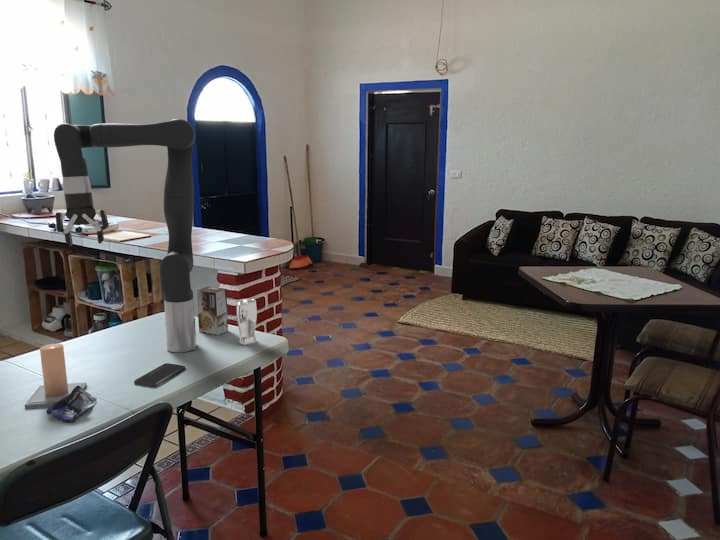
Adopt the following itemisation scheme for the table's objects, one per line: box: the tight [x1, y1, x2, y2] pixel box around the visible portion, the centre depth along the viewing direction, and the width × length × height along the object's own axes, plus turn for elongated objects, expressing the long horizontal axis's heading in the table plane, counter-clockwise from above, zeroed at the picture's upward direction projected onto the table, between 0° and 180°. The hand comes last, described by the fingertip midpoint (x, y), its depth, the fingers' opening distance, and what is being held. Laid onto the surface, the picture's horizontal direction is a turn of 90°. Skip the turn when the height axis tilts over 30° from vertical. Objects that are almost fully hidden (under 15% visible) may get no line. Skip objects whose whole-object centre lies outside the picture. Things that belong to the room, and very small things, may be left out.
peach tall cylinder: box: [39, 343, 68, 397], centre depth 148 cm, size 6×6×13 cm
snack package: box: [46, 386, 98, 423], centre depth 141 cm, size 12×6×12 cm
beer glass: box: [235, 298, 258, 346], centre depth 192 cm, size 7×7×15 cm
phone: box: [133, 362, 187, 388], centre depth 164 cm, size 8×1×15 cm
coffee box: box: [196, 286, 229, 336], centre depth 202 cm, size 9×6×16 cm
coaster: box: [24, 382, 88, 409], centre depth 149 cm, size 12×12×1 cm
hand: (85, 244), depth 171 cm, fingers open, 8 cm apart
